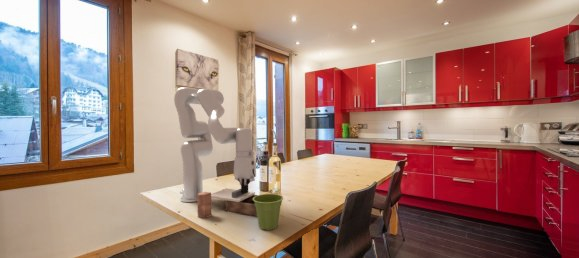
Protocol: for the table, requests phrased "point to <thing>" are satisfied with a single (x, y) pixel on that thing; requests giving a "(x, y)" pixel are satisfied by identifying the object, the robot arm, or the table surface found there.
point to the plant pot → (268, 210)
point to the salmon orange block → (204, 204)
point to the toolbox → (242, 207)
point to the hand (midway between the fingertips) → (244, 192)
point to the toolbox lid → (231, 195)
